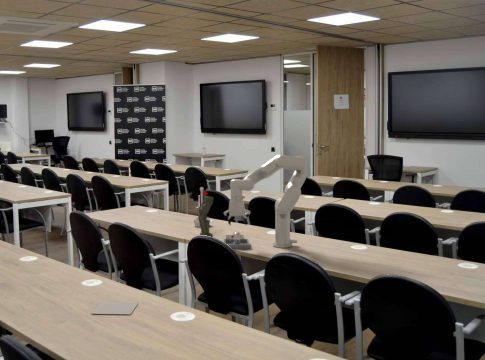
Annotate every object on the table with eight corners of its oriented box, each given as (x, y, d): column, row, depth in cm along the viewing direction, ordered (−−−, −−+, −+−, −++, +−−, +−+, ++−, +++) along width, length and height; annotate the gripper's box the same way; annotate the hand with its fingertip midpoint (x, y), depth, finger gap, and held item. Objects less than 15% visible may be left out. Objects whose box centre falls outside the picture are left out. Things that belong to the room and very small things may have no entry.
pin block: (243, 238, 361) (243, 234, 361) (244, 242, 349) (244, 238, 349) (226, 238, 361) (226, 234, 360) (226, 242, 349) (226, 238, 348)
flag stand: (196, 227, 396) (195, 188, 392) (191, 224, 408) (191, 186, 404) (212, 226, 400) (212, 187, 397) (207, 223, 412) (207, 185, 409)
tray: (247, 243, 347) (247, 238, 346) (249, 249, 331) (249, 244, 330) (223, 243, 346) (223, 239, 345) (224, 249, 330) (224, 244, 329)
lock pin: (239, 244, 340) (239, 232, 339) (240, 245, 336) (240, 233, 335) (233, 244, 340) (233, 232, 339) (233, 245, 336) (233, 233, 335)
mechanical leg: (200, 239, 355) (206, 195, 357) (192, 237, 359) (198, 194, 361) (213, 240, 366) (219, 197, 368) (205, 238, 370) (211, 196, 372)
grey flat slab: (124, 324, 210) (124, 323, 210) (63, 323, 211) (63, 321, 211) (138, 304, 233) (138, 302, 233) (83, 303, 234) (83, 301, 234)
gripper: (249, 197, 339) (250, 223, 341) (222, 198, 338) (223, 224, 340) (250, 198, 331) (251, 225, 333) (223, 199, 330) (224, 226, 332)
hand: (237, 224), depth 337 cm, fingers open, 9 cm apart
